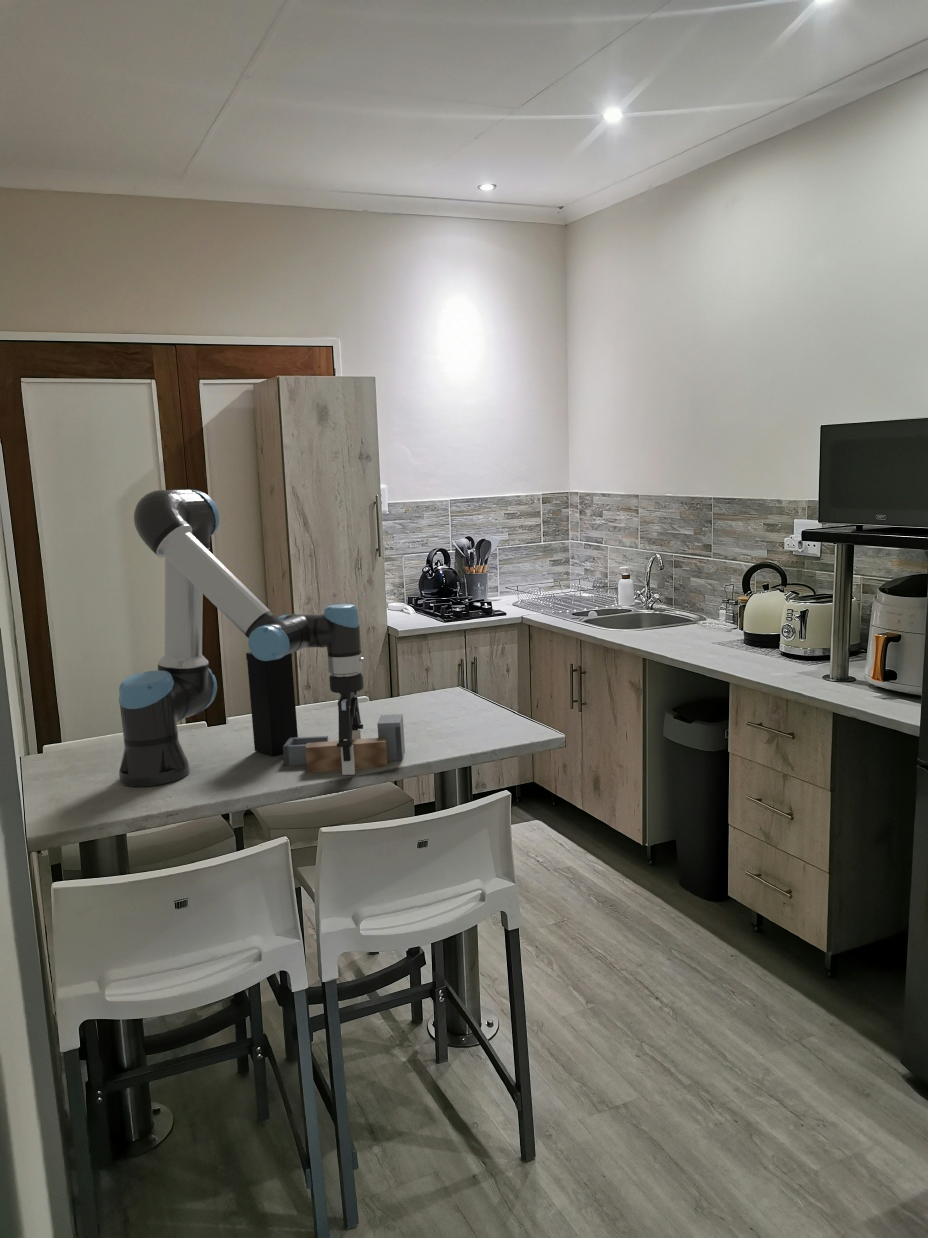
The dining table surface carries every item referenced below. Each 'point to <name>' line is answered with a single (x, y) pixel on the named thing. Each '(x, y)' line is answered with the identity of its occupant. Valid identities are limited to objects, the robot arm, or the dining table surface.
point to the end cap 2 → (392, 735)
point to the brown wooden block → (329, 754)
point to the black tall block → (272, 703)
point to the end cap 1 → (299, 749)
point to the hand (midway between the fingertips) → (352, 765)
